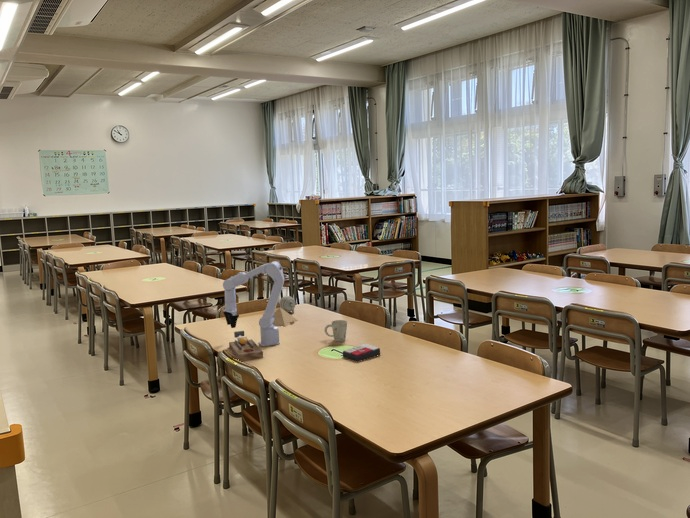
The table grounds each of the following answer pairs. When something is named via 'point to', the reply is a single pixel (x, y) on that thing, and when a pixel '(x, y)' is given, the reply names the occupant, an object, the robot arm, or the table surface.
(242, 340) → the ball
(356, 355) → the flat black red box
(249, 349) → the launcher base
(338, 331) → the mug
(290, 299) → the toy sheep
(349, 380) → the table surface
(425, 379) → the table surface
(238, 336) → the grey block
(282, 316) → the model pyramid
